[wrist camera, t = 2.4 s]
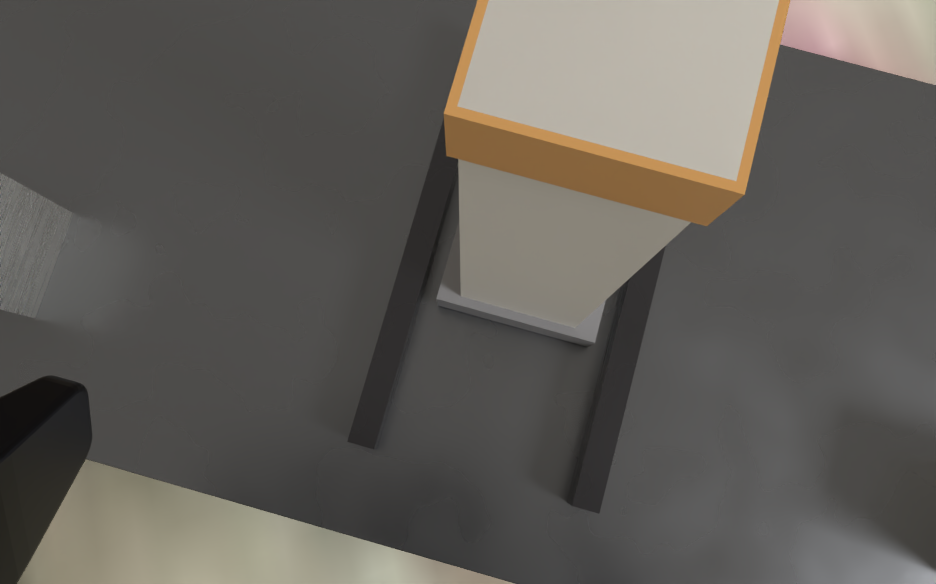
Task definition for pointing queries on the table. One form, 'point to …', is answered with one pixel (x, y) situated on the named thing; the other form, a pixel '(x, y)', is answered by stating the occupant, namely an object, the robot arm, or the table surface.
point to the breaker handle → (595, 145)
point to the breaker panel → (456, 333)
